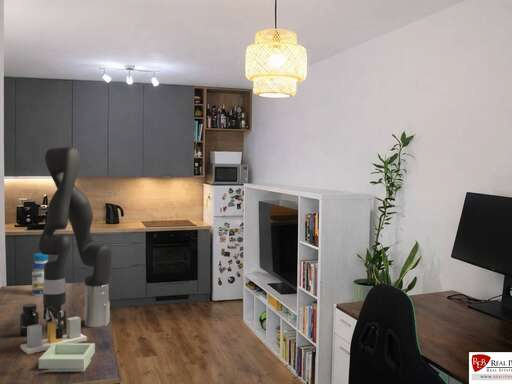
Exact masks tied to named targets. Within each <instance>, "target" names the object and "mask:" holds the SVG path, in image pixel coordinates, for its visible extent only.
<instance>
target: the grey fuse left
mask: <svg viewBox="0 0 512 384" xmlns="http://www.w3.org/2000/svg"><path fill="white" fill-rule="evenodd" d="M26 340H27V341H26V344H27V347H29V348H34V347H38V346H42V340H43V326H42V325H41V324H40V323H39V324H36V325H31V326H27V337H26Z"/></svg>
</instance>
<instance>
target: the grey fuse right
mask: <svg viewBox="0 0 512 384" xmlns="http://www.w3.org/2000/svg"><path fill="white" fill-rule="evenodd" d="M81 321H82V318H81V317H79V316H73V317H68V318H67V317H66V335H67V338H68V339H73V338H77V337H81V334H82V332H81V331H82V326H81V324H82V322H81Z"/></svg>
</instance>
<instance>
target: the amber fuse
mask: <svg viewBox="0 0 512 384" xmlns="http://www.w3.org/2000/svg"><path fill="white" fill-rule="evenodd" d="M46 323H47V332H46V333H47V338H46V339H47V342H48V343H50V344H51V343H56V342H60V341H62V338H61V339H56V327H55V324H54V323H53V321H52V322H46ZM60 325H61V324H60Z"/></svg>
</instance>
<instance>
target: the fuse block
mask: <svg viewBox="0 0 512 384" xmlns="http://www.w3.org/2000/svg"><path fill="white" fill-rule="evenodd" d="M85 341H88V336H86V335H84V334H82V333H81V337H77V338H73V339H68V338H67V334H63V338H62V341H60V342H56V343H81V342H82V343H83V342H85ZM52 344H53V343H51V344H50V343H48V342H47V338H45V339H42V346H38V347H34V348H29V347H27V343H23V344H20V349H21V350H22V351H23V352H25V353H26V354H27V355H30V354H35V353H39V352H44V351H47V350H48V349H49V348H50V347H51V345H52Z"/></svg>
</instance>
